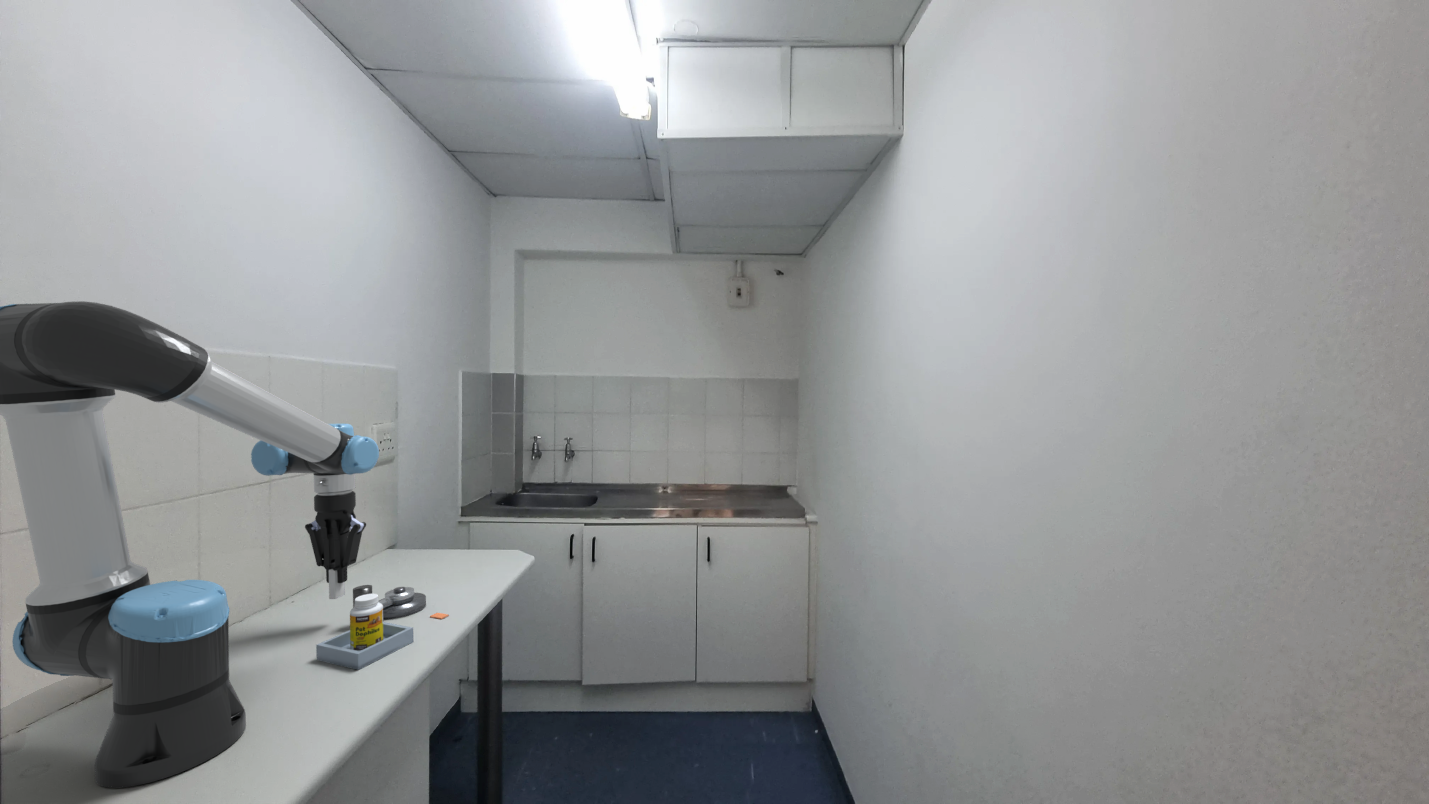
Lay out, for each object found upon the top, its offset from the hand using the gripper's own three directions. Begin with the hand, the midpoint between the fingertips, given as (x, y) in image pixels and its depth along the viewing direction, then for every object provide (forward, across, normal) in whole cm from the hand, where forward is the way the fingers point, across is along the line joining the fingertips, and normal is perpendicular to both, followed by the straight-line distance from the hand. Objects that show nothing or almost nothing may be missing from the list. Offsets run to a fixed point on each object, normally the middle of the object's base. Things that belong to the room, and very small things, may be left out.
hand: (337, 596), depth 116 cm
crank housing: (+6, +8, +9) cm, 14 cm away
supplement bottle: (+6, +16, -11) cm, 20 cm away
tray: (+6, +16, -11) cm, 20 cm away
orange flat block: (+6, +20, +5) cm, 22 cm away
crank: (+4, +7, +5) cm, 10 cm away
